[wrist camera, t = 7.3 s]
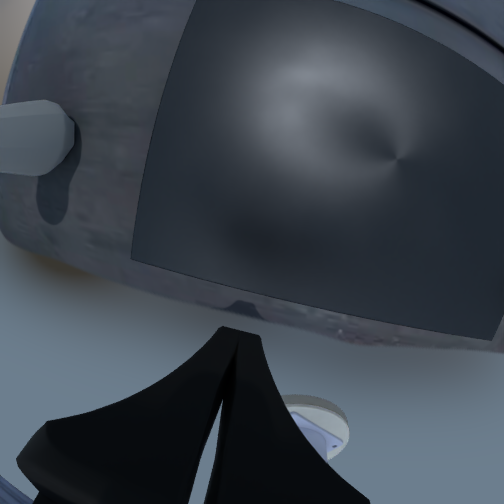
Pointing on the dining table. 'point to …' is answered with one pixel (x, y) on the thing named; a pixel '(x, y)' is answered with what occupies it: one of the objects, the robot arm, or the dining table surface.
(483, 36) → the dining table surface
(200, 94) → the panel
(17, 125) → the salt shaker
